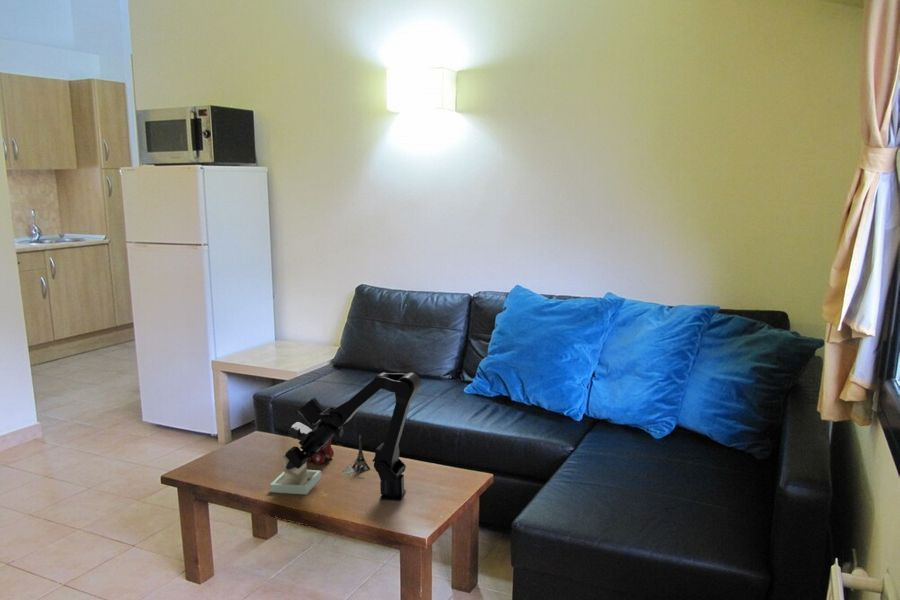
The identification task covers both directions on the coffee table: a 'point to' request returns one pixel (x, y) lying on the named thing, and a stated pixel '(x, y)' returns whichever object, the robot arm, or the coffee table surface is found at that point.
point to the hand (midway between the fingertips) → (291, 464)
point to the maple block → (295, 473)
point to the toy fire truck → (323, 454)
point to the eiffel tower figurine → (359, 462)
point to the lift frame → (295, 489)
